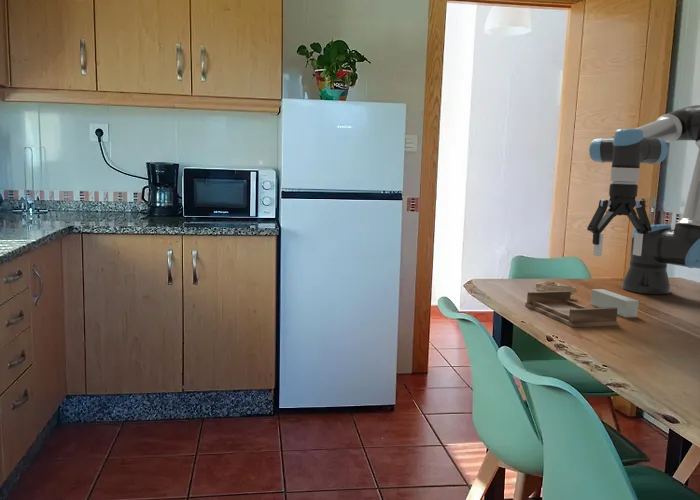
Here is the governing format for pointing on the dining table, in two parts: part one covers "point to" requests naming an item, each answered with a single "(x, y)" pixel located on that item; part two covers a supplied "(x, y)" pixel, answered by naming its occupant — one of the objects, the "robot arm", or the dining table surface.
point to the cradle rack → (570, 309)
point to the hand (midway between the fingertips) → (617, 255)
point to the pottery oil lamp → (554, 287)
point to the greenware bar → (614, 302)
